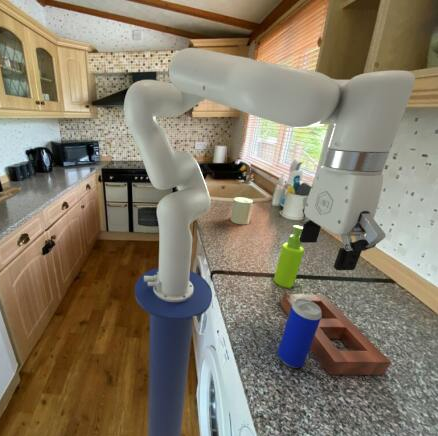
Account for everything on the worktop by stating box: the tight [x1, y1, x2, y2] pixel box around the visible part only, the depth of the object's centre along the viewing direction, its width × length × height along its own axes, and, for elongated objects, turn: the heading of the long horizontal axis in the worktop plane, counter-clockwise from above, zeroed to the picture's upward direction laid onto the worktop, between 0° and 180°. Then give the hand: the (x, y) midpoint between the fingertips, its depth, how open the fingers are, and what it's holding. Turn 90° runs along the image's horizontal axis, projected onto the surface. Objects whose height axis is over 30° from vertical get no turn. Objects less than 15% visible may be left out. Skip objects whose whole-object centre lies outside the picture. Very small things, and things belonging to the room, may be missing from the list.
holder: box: [280, 293, 392, 376], centre depth 60 cm, size 12×20×4 cm, turn 0°
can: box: [230, 196, 254, 225], centre depth 124 cm, size 9×9×12 cm
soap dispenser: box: [273, 224, 305, 289], centre depth 75 cm, size 6×7×20 cm
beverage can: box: [277, 299, 322, 369], centre depth 51 cm, size 5×5×15 cm
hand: (323, 254), depth 45 cm, fingers open, 9 cm apart
